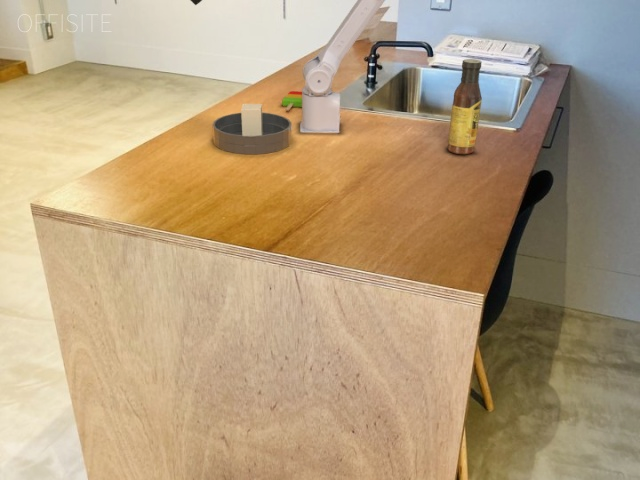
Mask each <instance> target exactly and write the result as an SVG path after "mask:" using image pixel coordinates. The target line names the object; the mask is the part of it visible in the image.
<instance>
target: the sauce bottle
mask: <svg viewBox="0 0 640 480" xmlns="http://www.w3.org/2000/svg"><path fill="white" fill-rule="evenodd" d="M481 68H482V60H480V59H476V58H468V59H467V58H466V59H463V60H462V64H461V69H462V70H461V78H460V83H459V84H458V86H457V87H456V88H455V90H454V93H453V100H452V104H451V113H450V122H449V130H448V138H447V143H448V145H447V151H449V152H450V153H452V154H456V155H469V154H472V153H473V152H474V150H475V146H476V142H477V136H478V128H479V121H480V116H481V115H480V114H481V107H482V100H483V99H482V93H481V88H480V82H479V81H480V71H481Z"/></svg>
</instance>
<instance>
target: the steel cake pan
mask: <svg viewBox="0 0 640 480" xmlns="http://www.w3.org/2000/svg"><path fill="white" fill-rule="evenodd" d="M292 124H293V123H292V121H291V120H290V119H289V118H288V117H286V116H282V115H279V114H275V113H271V112H262V127H263V135H258V136H243V135H242V116H241V112H237V113H235V112H234V113H230V114H226V115H222V116H220V117H218V118H216V119H215V120H214V121H213V122H212V138H213V144H214V146H215V147H217V148H218V149H219V150H222V151H224V152H227V153H232V154H239V155H265V154H271V153H276V152H279V151H283V150H285V149H287V148H289V146H290V145H292V140H293V138H292V137H293V135H292V134H293V133H292V128H293V127H292Z"/></svg>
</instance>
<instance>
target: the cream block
mask: <svg viewBox="0 0 640 480" xmlns="http://www.w3.org/2000/svg"><path fill="white" fill-rule="evenodd" d="M240 113H241V116H242V135H243V136H258V135H263V127H262V113H263V104H262V103H242V105H241V109H240Z"/></svg>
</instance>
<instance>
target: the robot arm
mask: <svg viewBox="0 0 640 480" xmlns="http://www.w3.org/2000/svg"><path fill="white" fill-rule="evenodd" d="M202 1H203V0H190V2H192V4H194V6H197V5H198V4H200V3H201V2H202ZM385 1H386V0H357V1H356V2H355V3H354V5H353V7H351V9H350V10H349V11H348V13H347V15H346V16H345V17H344V19H343V20H342V22H340V25H339V26H338V27H337V29H336V30H335V32H334V33H333V34H332V36H331V37H330V39H329V40H328V41H327V43H326V44H325V46H324V47H323V48H321V50H319V51H318V52H317V54H316V55H315V57H313V58H312V59H309V60H308V61H307V62H305V64H304V66H303V68H302V76H303V77H302V78H303V79H304V81H305V85H304V87H303V88H302V89H301V92H302V107H301V121H300V126H299V132H300V133H316V134H317V133H320V134H321V133H323V134H324V133H325V134H326V133H327V134H329V133H330V134H333V133H334V134H340V125H341V120H342V119H341V117H342V116H341V92H337V91H333V89H332V88H331V87H332V85H333V81H334V77H335V75H336V74H337V73H338V71H339V69H340V65H341V63H342V61H343V60H344V58H345V57H346V56H347V54H348V53H349V51H350V50H351V48H352V47H353V46H354V44H355V43H356V41H357V40H358V39H359V38H360V36H361V34H362V33H363V32H364V30H365V29H366V28H367V26H368V25H369V24H370V22H371V21H372V20H373V18H374V16H375V15H376V14H377V12H378V11H379V9H380V8H381V6H382V5H383V4H384V2H385Z"/></svg>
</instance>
